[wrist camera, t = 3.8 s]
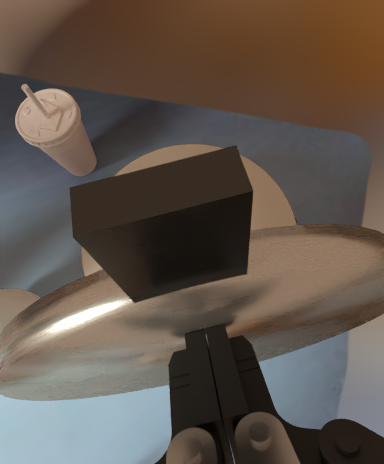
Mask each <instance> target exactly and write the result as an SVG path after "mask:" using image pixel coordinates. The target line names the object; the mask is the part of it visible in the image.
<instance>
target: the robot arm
mask: <svg viewBox="0 0 384 464" xmlns="http://www.w3.org/2000/svg"><path fill="white" fill-rule="evenodd" d="M206 335H207V338H206ZM206 335H205V331H204V329H202V330H198V331H194V332H190V333H186V334H185V344H186V349H183V350H179V351H175V352H173V354H172V357H171V359H170V362H169V364H168V367H169V386H170V405H171V424H172V437H171V442H170V444H169V446H168V449H167V451H166V453H165V454H164V455H163V457H162V458H161V459H160V460H159V461H158V462H156V463H155V464H234V462H233V457H232V452H233V455H234V459H235V463H236V464H384V438H383V437H382V436H380V435H378V434H376V433H375V432H373V431H371V430H369V429H368V428H366V427H364V426H362V425H361V424H359V423H357V422H355V421H351V420H347V419H335V420H332V421H330V422H328V423H326V424H325V425H324V426H323V428H322V429H321V430H318V429H307V428H300V427H296V426H293V425H291V424H289V423H288V422H286V421H285V420H283V419H282V418H281V417H280V416H279V414H278V413H277V411H276V410H275V407H274V405H273V402H272V399H271V397H270V394H269V391H268V388H267V385H266V382H265V380H264V377H263V374H262V371H261V369H260V366H259V363H258V360H257V358H256V354H255V352H254V349H253V346H252V344H251V343H250V342H249V341H248V340H247V339H246V338H245V337H244V336H243V335H240V336H236V337H232V338H228V335H227V331H226V327H225V324H222V325H218V326H214V327H210V328H206ZM207 340H208V342H207ZM208 345H209V346H208ZM228 437H229V438H228ZM229 441H230V442H229ZM230 445H231V447H230ZM231 448H232V452H231Z"/></svg>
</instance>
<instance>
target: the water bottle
mask: <svg viewBox="0 0 384 464" xmlns="http://www.w3.org/2000/svg"><path fill="white" fill-rule="evenodd" d="M39 299H41V298H40V297H39V296H37V295H36V294H33V293H31V292H28V291H25V290H21V289H8V290H3V289H0V334H1V332H2V330H3V329H4V327H5V326H6V325H7V324H8V323H9V322H10V321H11V320H12V319H13V318H14V317H15V316H16V315H17V314H19V313H20V312H21V311H23V310H24V309H26V308H27V307H29V306H30V305H31V304H33V303H34V302H36V301H37V300H39Z"/></svg>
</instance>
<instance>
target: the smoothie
mask: <svg viewBox="0 0 384 464" xmlns="http://www.w3.org/2000/svg"><path fill="white" fill-rule="evenodd" d="M21 88H22V89H23V91H24V92H25V93H26V95H27V96H28V98H26V99H25V100H24V101H23V102H22V104H21V105H20V107H19V108H18V110H17V113H16V117H15V124H16V128H17V130H18V132H19V133H20V134H21V136H22V137H23V138H24V139H25V141H26V142H28V143H30V144H31V145H33V146H37V147H39V148H40V149H41V150H43V151H44V152H45V153H46V154H48V155H49V156H50V157H52V158H53V159H54V160H55V161H57V162H58V163H59V164H60V165H62V166H63V167H64V168H65V169H67V170H68V171H69V172H71V173H72V174H73V175H75V176H86V175H88V174H90V173H91V172H92V171H93V170H94V169H95V167H96V164H97V159H96V156H95V154H94V151H93V149H92V146H91V144H90V141H89V139H88V136H87V134H86V131H85V129H84V126H83V124H82V121H81V119H80V118H81V114H80V109H79V106H78V104H77V103H76V102H75V101H74V99H73V98H72V96H71V95H69V94H68V93H67V92H65V91H62V90H59V89H45V90H41V91H38V92H36V93H34V94H33V92H32V91H31V89H30V88H29V87H28V85H27V84H24V85H22V87H21Z"/></svg>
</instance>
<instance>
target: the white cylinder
mask: <svg viewBox="0 0 384 464" xmlns="http://www.w3.org/2000/svg"><path fill="white" fill-rule="evenodd" d="M220 149H224V148H220V147H216V146H210V145H203V144H184V145H175V146H170V147H165V148H162V149H158V150H155V151H152V152H150V153H148V154H145V155H143V156H141V157H139V158H138V159H136V160H134V161H132V162H131V163H129V164H128V165H127V166H125V167H124V168H123V169H121V170H120V171H119V172H118V173H117V174H116V175H115V176H118V175H122V174H126V173H130V172H134V171H138V170H141V169H145V168H149V167H153V166H157V165H161V164H165V163H169V162H173V161H177V160H181V159H185V158H188V157H192V156H196V155H200V154H204V153H208V152H212V151H216V150H220ZM240 157H241V160H242V162H243V165H244V167H245V170H246V173H247V175H248V178H249V180H250V183H251V186H252V188H253V204H252V217H251V230H256V229H262V228H271V227H282V226H292V225H296V223H297V222H298V221H297V220H296V219H295V217H294V215H293V211H292V209H291V207H290V205H289V202H288V200H287V198H286V197H285V195H284V193H283V192H282V190H281V189H280V187H279V186H278V185H277V184H276V182H275V181H274V180H273V179H272V177H270V176H269V175H268V174H267V173H266V172H265V171H264V170H263V169H262V168H261V167H259V166H258V165H256V164H255V163H254V162H252V161H251V160H249V159H247V158H245V157H244V156H242V155H240ZM113 177H114V176H113ZM81 254H82V266H83V271H84V276H88V275H90V274H92V273H95V272H97V271H99V270H102V267H101V266H100V265H99V264H98V263H97V262H96V261H95V260H94V259H93V258H92V257H91V256H90V255H89V253H88V252H87V251H86V250H85V249H84V248H83V247H82V250H81Z"/></svg>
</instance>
